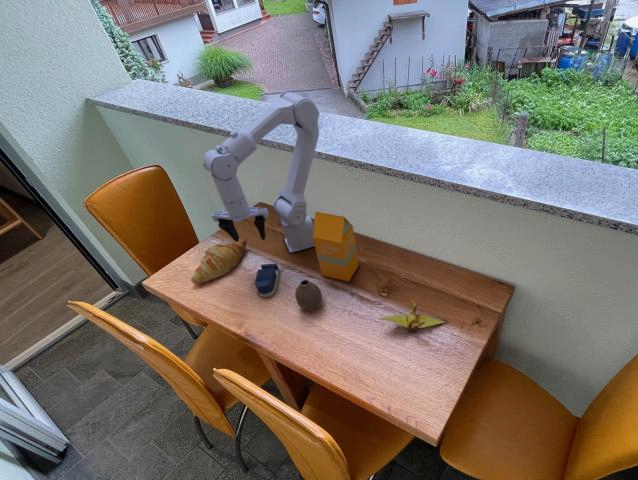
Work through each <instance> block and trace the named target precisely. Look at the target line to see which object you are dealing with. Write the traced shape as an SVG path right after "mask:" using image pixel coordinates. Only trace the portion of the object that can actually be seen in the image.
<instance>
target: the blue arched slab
mask: <svg viewBox="0 0 638 480" xmlns="http://www.w3.org/2000/svg"><path fill="white" fill-rule="evenodd" d="M279 275H280V268H279V265H278V263H276V262H275V263H266V264H265V263H264V264H261V266H260V268H259V269H257V271H256V274H255V279H254V286H255V288H256V290H257V292H258V294H259V296H261V297H263V298H268V297H271V296H273V295H274V294H275V293H276V289H277V286H278V281H279V280H278V279H279Z"/></svg>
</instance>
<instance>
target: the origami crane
mask: <svg viewBox="0 0 638 480" xmlns="http://www.w3.org/2000/svg"><path fill="white" fill-rule="evenodd" d="M410 305H411V306H412V309H411V311H410V314H407V315H405V314H402V313H401V314H400V313H399V314H393V315H390V316H385V317H384V316H383V317H379V320H381V321H386V322H390V323H393V324H397V325H399V326H402V327H404V328H408V329H409V331H410V332H415V331H416V330H418V329H421V328H426V327H431V326H432V327H433V326H436V325H440V324H446V321H444V320H441V319H438V318H437V317H433V316H431V315H427V314H424V313H420V314H416V311H417V309H418V302H417V303H416V301H414V300H413V299H412V300H410Z"/></svg>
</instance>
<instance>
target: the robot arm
mask: <svg viewBox="0 0 638 480" xmlns="http://www.w3.org/2000/svg"><path fill="white" fill-rule="evenodd" d="M319 116H320V111H319V110H318V108H317V106H316V104H315V102H314V101H313V100H312V99H310V98H308V97H304V96H302V95H299V94H298V93H295V92H294V91H292V90H285V91H282V92H281V93H280V94H279V96H276V97H275V98H273V101H272V103H271V104H270V106H269V107H268V108H267V109H266V110H264V112H263V113H262V114H261V115H259V117H258V118H257V119H256V120H255V121H254V122H253V123H252V124H251V125H250V126H248V128H246V129H245V130H244V129H237V130H236V131H235V130H232V131H231V132H230V133H229V135H230V136H229V137H228V138H227V139H225V141H223V142H221V144H220V145H219V144H218V145H216V146H215V149H213V150H212V149H210V150H208V151H207V152H205V154H204V155H203V160H202V162H203V164H202V166H203V167H204V169H205V170H206V171H208V172H209V173H211V174H210V175H211V178H212V180H213V182H214V185H215V188H216V190H217V192H218V194H219V197H220V199H221V201H222V203H223V205H224V207H225V209H223V210H218V211H213V212H212V214H211V218H212V220H213V221H214V223H216V222H218V227H219V229H221V230H223V231H224V232H225V233H226V234H228V235H229V236H230V237H231V239H232V240H233V242H238V241H240V235H239V233H238V230H237V229H236V227H235V223H240V222H242V221H243V220H247V219H251V218H255V219H254V220H253V224H254V226H255V227H256V229H257V230H258V233H259V236H260V238H261V240H262V241H264V240H266V229H265V228H266V226H265V225H266V218H268V217H269V213H270V212H269V211H268V208H267V207H257V206H250V205H249V203H248V200H247V198H246V195H245V193H244V190H243V188H242V186H241V183H240V180H239V178H238V175H237V173H238V168H239V167H240V165H241V164H242V163H244V162H245V161H246V160H247V159H248V158H249V157H250V156H251V155H252V154H254V153H255V151H257V149H258V148H257V145H258V142H259V141H261V139H263V138H264V137H266V136H267V135H268V134H270V133H271V132H272V131H274V130H275V129H276V128H278V127H279V126H280V125H292V126H293V129H294V130H295V132H296V134H297V135H296V140H295V144H294V149H293V153H292V156H291V157H292V158H291V160H290V161H291V162H290V165H289V170H288V173H287V178H286V182H285V187H284V188H282V189H280V190H279V192H278V195H277V197H276V199H275V200H274V202H273V205H272V207H273V211H274V212H275V214H276V215H278V216H279V218H280V224H281V228H282V230H283V234H284V236H285V238H284V242H285V244H286V246H287V248H288V251H289V253H290V254H293V253H295V252H299V251H303V250H306V249H310V248H313V247H315V244H314V240H313V231H314V222H313V221H312V218H311V216H310V215H308V214H307V206H308V204H307V201H306V198H305V195H304V194H305V191H306V186H307V182H308V179H309V175H310V172H311V167H312V164H313V160H314V155H315V152H316V148H317V144H318V141H319V136H320V129H319V121H318V120H319Z"/></svg>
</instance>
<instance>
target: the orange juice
mask: <svg viewBox="0 0 638 480" xmlns="http://www.w3.org/2000/svg"><path fill="white" fill-rule="evenodd" d="M313 226H314V231H313V240H314V244H315V246H314V249H315V251H316V257H317V261H318V264H319V267H320V271H321V276H323V277H328V278H332V279H335V280H341V281H344V282H350V281H351V279H352V277H353V275H354V274H355V272H356V271H357V269H358V268H359V259H358V252H357V250H358V249H357V243H356V238H355V233H354V232H355V231H354V226H353V224H351V223H350V221H348V219H347V218H346V217H345V216H341V215H337V214H332V213H331V214H330V213H325V212H320V211H315V214H314V222H313Z"/></svg>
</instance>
